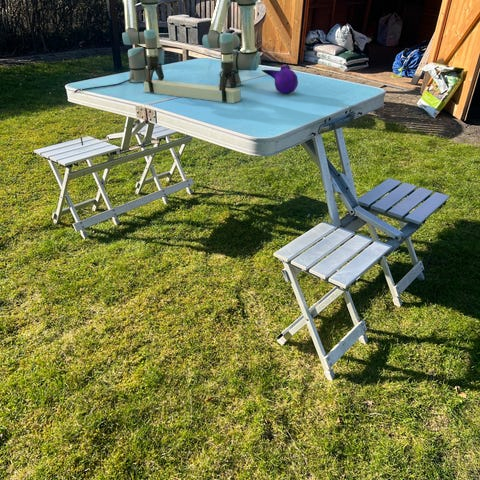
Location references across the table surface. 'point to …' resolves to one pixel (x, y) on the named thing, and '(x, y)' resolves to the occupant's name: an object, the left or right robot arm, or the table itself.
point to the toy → (284, 79)
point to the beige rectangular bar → (193, 91)
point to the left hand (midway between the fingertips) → (156, 90)
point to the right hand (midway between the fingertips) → (228, 99)
